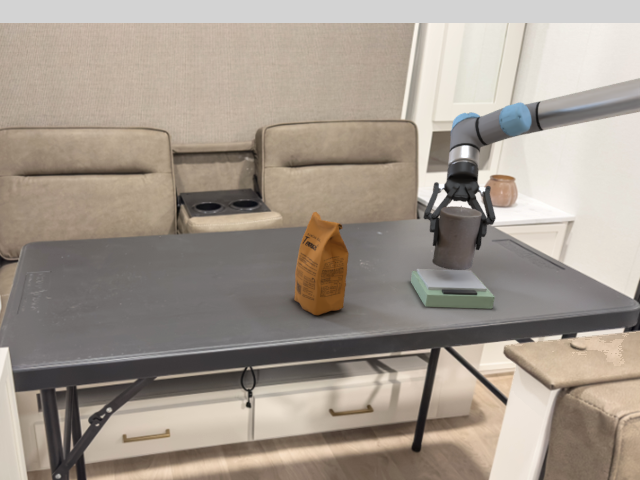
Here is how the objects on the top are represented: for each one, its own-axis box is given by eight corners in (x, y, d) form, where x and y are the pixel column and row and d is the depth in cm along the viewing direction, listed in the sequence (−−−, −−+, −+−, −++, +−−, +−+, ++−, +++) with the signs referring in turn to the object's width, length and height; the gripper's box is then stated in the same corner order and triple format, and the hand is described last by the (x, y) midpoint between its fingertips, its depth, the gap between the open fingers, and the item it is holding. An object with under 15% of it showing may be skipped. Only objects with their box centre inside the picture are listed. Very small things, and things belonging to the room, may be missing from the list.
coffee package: (323, 292, 147) (330, 208, 138) (348, 312, 137) (357, 222, 128) (288, 298, 144) (292, 211, 135) (311, 318, 133) (317, 226, 125)
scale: (492, 308, 140) (495, 293, 138) (425, 306, 140) (427, 291, 139) (471, 283, 154) (474, 269, 153) (410, 281, 155) (412, 267, 153)
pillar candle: (424, 261, 149) (433, 204, 143) (447, 254, 154) (457, 199, 148) (456, 273, 141) (467, 213, 135) (480, 265, 147) (491, 207, 141)
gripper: (505, 179, 151) (501, 256, 143) (417, 173, 156) (408, 247, 149) (512, 162, 144) (508, 242, 136) (420, 157, 149) (411, 234, 142)
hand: (456, 245), depth 143 cm, fingers closed on pillar candle, 9 cm apart
